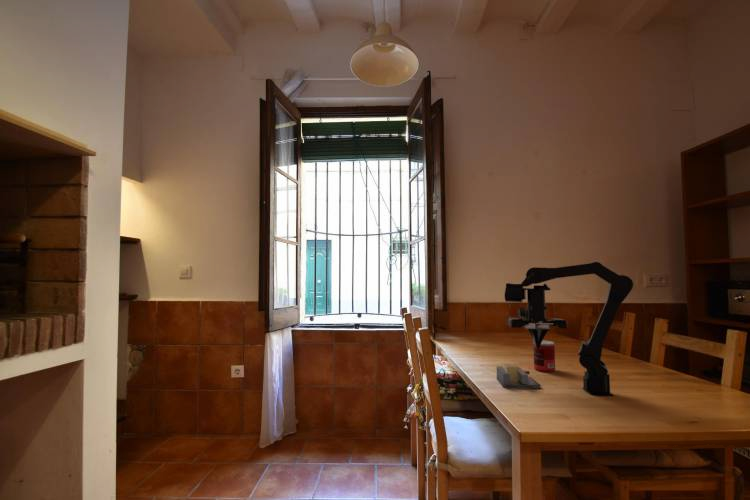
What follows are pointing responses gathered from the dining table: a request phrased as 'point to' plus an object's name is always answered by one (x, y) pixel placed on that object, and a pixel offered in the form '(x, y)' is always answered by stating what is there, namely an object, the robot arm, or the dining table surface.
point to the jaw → (523, 376)
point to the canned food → (544, 357)
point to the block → (512, 372)
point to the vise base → (505, 382)
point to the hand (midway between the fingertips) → (537, 347)
